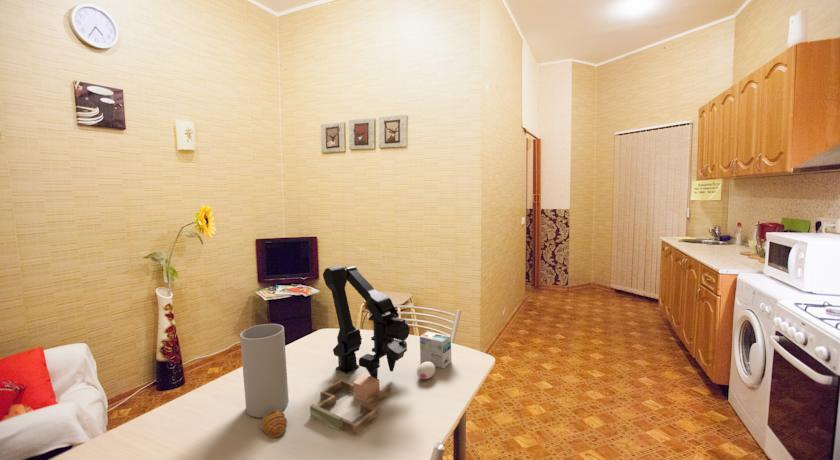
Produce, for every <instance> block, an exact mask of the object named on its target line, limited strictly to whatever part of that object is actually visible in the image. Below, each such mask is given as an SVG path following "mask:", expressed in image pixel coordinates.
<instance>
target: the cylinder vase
mask: <svg viewBox="0 0 840 460" xmlns="http://www.w3.org/2000/svg"><path fill="white" fill-rule="evenodd" d="M239 338H240V350H241V352H240V353H241V360H242V361H241V363H242V364H241V365H242V373H243V374H242V376H243V385H244V387H243V388H244V398H245V402H244V403H245V411H246V414H247V415H248V416H250V417H253V418H258V419H259V418H260V419H261V418H262V419H263V417H264V416H265V414H267V413H269V412H270V411H273V410H278V411H279V412H283V410H285V409H286V407H287V406H288V404H289V399H290V397H289V387H288V386H289V384H288V372H287V371H288V369H287V358H286V357H287V355H286V343H285V342H286V340H285V339H286V337H285V327H284V326H283V325H281V324H279V323H264V324H258V325H257V324H256V325H253V326H250V327H248V328H246V329H243V330H242V331H241V332H240V334H239Z"/></svg>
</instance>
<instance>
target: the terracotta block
mask: <svg viewBox="0 0 840 460" xmlns="http://www.w3.org/2000/svg"><path fill="white" fill-rule="evenodd" d="M352 383H353V386H354V392H353V398H356V399H359V400H361V401H364V402H365V401H366V400H368V399H369V398H371V397H372V396H374V395H375V394H376V393H378V392H379V391H381V390H380V379H379V378H374V377H371V376H370V375H368V374H365V375H363V376H361V377H359V378H358V379H356V380H355V381H353V382H352Z"/></svg>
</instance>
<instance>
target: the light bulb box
mask: <svg viewBox="0 0 840 460" xmlns="http://www.w3.org/2000/svg"><path fill="white" fill-rule="evenodd" d="M419 349H420V350H419V352H420V353H419V354H420V355H419V358H420V359H419V361H420V363H421V364H422V363H423V362H431V363H433V364H434V366H435V368H440V369H445V367H446V368H447V366H448V365H450V364H451V363H452V336H451V335H448V334H443V333H436V332H433V331H429V330H428V331H426V332H425V333H423V334H421V335H420V336H419Z"/></svg>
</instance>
